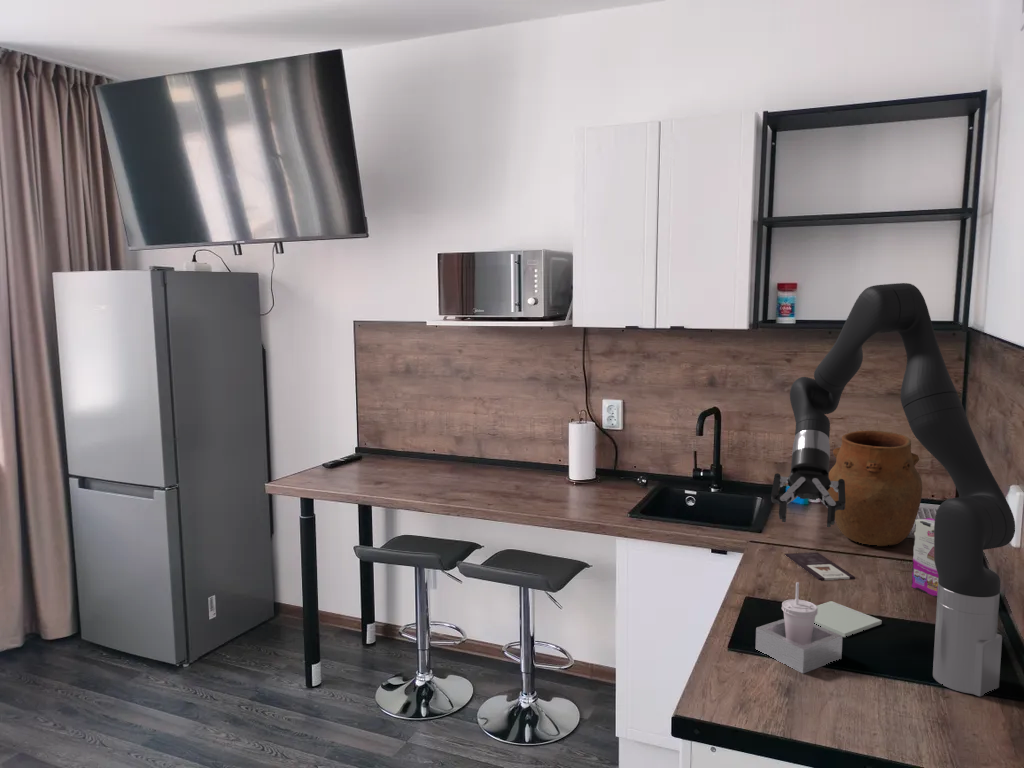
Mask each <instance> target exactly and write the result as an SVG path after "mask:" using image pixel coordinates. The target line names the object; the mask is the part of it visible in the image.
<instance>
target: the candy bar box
mask: <svg viewBox="0 0 1024 768" xmlns="http://www.w3.org/2000/svg"><path fill="white" fill-rule="evenodd" d="M934 524H935V518H931V517H925V518H919V519H918V518H917V519H915V522H914V533H913V534H914V535H913V551H912V552H913V553H912V554H913V555H912V571H911V572H912V573H911V588H913V589H915V590H917V591H920V592H923V593H924V594H928V595H929V596H932V597H934V598H937V593H938V572H937V569H936V566H935V561H934Z"/></svg>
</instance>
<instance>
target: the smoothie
mask: <svg viewBox="0 0 1024 768" xmlns="http://www.w3.org/2000/svg"><path fill="white" fill-rule="evenodd" d="M799 597H800V582H797V581H796V582H795V598H794V599H793V598H792V599H787V600H784V601H782V603H781V610H782V611H783V619H784V621H785V632H786V638H787V639H789V640H791V641H794V642H796V643H798V644H800V645H802V646H803V645H806V644H809V643H811V638H812V632H813V627H814V621H815V616H816V615H817V614H818V611H817V610H818V608H817V605H816V604H815V603H813V602H810V601H807V600H803V599H800V598H799Z"/></svg>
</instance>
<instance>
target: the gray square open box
mask: <svg viewBox="0 0 1024 768" xmlns="http://www.w3.org/2000/svg"><path fill="white" fill-rule="evenodd" d="M755 649H756V650H758V651H760V652H762V653H764V654H767V655H769V656H770V657H772V658H774V659H776V660H777V662H778V661H779V663H780V662H781V663H780V664H782V663H783V665H784V664H786V665H787V667H788V666H789V667H788V668H790V667H791V669H792V668H793V670H795V671H797V672H799V673H801V674H806V673H808V672H811V671H814V670H817V669H818V668H821V667H824V666H826V664H827V665H829V664H831V663H830V662H832V663H834V662H833V661H835V662H837V661H839V659H840V660H842V654H843V653H842V652H843V636H842V635H839V634H837V633H834V632H832V631H830V630H827V629H825V628H823V627H820V626H818V625H816V624H814V627H813V632H812V638H811V643H809V644H806V645H803V646H802V645H800V644H798V643H796V642H794V641H791V640H789V639H787V638H786V632H785V621H784V618H782V619H778V620H776V621H773V622H770V623H766V624H763V625H761V626H757V627H756V628H755ZM756 650H755V651H756ZM758 651H757V652H758ZM760 652H759V653H760ZM762 653H761V654H762ZM764 654H763V655H764ZM770 657H769V658H770ZM772 658H771V659H772ZM774 659H773V660H774ZM776 660H775V661H776ZM836 660H837V661H836ZM828 663H829V664H828ZM786 665H785V666H786Z"/></svg>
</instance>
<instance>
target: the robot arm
mask: <svg viewBox="0 0 1024 768" xmlns="http://www.w3.org/2000/svg"><path fill="white" fill-rule="evenodd" d="M895 332H898V334H899V335H900V338H901V340H902V344H903V346H904V349H905V353H906V367H905V369H904V370H905V371H904V374H903V379H902V382H901V388H900V403H901V406H902V410H903V412H904V415H905V417H906V419H907V422H908V425H909V427H910V430H911V432H912V434H913V435H914V437H915V439H917V440H918V443H920V444H921V445H922V446H923V447H924V448H925V449H926V450H927V451H928V452H929V454H931V455H932V456H933V457H934V459H936V460H937V462H939V463H940V464H941V465H942V466H943V467H944V469H945V470H946V472H947V473H948V474H949V476H950V478H951V481H952V482H953V483H954V486H955V489H956V491H957V493H958V496H957V497H952V498H948V499H946V500H945V501H942V503H941V504H940V505H939V506H938V508H937V510H936V513H935V516H934V519H935V524H934V561H935V566H936V569H937V572H938V593H937V597H936V609H935V610H936V611H935V612H936V613H935V625H934V626H935V628H934V629H935V630H934V647H933V663H932V666H933V667H932V677H933V679H934V680H935V681H936V682H938V683H939V684H940V685H942V684H943V685H942V686H943V687H946V688H948V689H950V690H953V691H957V692H959V693H960V692H961V693H963V694H964V693H965V694H971V695H975V696H977V697H983V696H985V695H986V694H985V693H987V692H989V691H991V692H993V691H995V690H997V689H999V688H1000V678H1001V677H1000V676H1001V675H1000V674H1001V661H1002V660H1001V658H1002V647H1003V645H1002V644H1003V636H1002V634H999V633H998V623H999V608H1000V596H1001V595H1000V592H1001V578H1000V576H999V575H998V574H997V573H996V572H995V571H993V570H991V569H989V568H986V567H984V551H985V550H992V549H996V548H997V549H998V548H1002V547H1005V546H1008V545H1009V544H1010V543H1011V542H1012V541H1013V539H1014V537H1015V533H1016V520H1015V518H1014V513H1013V512H1012V509H1011V507H1010V504H1009V503H1008V500H1007V499H1006V497H1005V495H1004V493H1003V491H1002V489H1001V487H1000V485H999V484H998V482H997V479H996V478H995V476H994V475H993V473H992V471H991V469H990V467H989V465H988V463H987V461H986V459H985V456H984V454H983V453H982V449H981V447H980V445H979V442H978V441H977V438H976V436H975V434H974V432H973V429H972V427H971V425H970V423H969V420H968V417H967V414H966V412H965V411H966V410H965V409H964V405H963V403H962V401H961V399H960V397H959V394H958V391H957V389H956V387H955V385H954V383H953V381H952V378H951V376H950V373H949V370H948V368H947V365H946V363H945V360H944V357H943V355H942V353H941V350H940V346H939V343H938V340H937V336H936V332H935V329H934V327H933V323H932V319H931V315H930V311H929V308H928V305H927V303H926V300H925V298H924V295H923V293H922V292H921V290H920V289H919V288H918V287H917V286H915V284H912V283H907V282H901V283H900V282H899V283H898V282H897V283H887V284H886V283H884V284H876V285H875V284H874V285H871V286H868V287H866V288H865V289H864V290H863V291H862V292H861V293H860V294H859V296H858V297H857V299H856V300H855V301H854V303H853V306H852V307H851V309H850V312H849V314H848V316H847V318H846V320H845V322H844V324H843V326H842V329H841V331H840V333H839V334H838V337H837V339H836V341H835V342H834V344H833V346H832V347H831V349H830V350H829V351H828V352H827V354H826V355H825V357H823V359H822V360H821V361H820V363H819V364H818V365H817V366H816V368H815V370H814V371H813V372H814V373H813V378H810V377H807V376H802V377H798V378H797V379H796V380H795V381H793V383H792V385H791V386H790V391H789V400H790V404H791V408H792V412H793V417H794V420H795V430H794V440H793V444H792V451H791V462H790V463H791V464H790V466H791V467H790V474H789V476H782V475H781V473H774V476H773V482H772V488H771V494H770V496H771V497H770V498H771V499H770V500H771V503H773V504H777V505H779V508H778V518H779V519H780V520H781V522H782V523H786V522H787V521H786V520H787V511H788V505H789V503H791V502H794V501H795V500H796V499H797V498H799V499H802V500H804V499H805V500H807V499H809V500H812V501H813V500H814V501H817V500H819V501H820V502H821V503H822V505H824V506H825V507H826V508H827V516H826V517H827V520H826V528H831V527H832V526H834V525H835V523H836V520H835V511H836V510H844V509H845V503H846V500H845V481H844V480H843V479H839V481H830V479H829V471H830V461H831V445H830V436H831V431H830V430H831V421H830V419H829V417H828V416H827V415H829V414H832V413H834V412H835V411H836V410H837V409H838V406H839V405H840V401H841V396H842V394H843V393H844V389H845V388H846V385H848V383H849V382H851V379H852V378H854V376H855V375H856V374H857V373H858V371H859V370H860V368H861V367H862V364H863V359H864V354H863V353H864V351H863V345H864V344H865V343H866V342H867V341H868V340H869V339H870V338H871V337H873V336H874V335H876V334H877V333H880V334H882V333H883V334H884V333H895ZM785 484H787V485H788V486H789V488H787V489H786V492H784V493H783V494H781V495H780V494H779V493H780V489H781V488H782V487H784V486H785ZM830 487H833V488H834V491H835V492H838V501H834V500H833V499H832V498H831V496H830V494H829V493H828V490H829V489H830ZM994 689H995V690H994ZM992 690H993V691H992ZM989 693H990V692H989ZM984 694H985V695H984ZM987 694H988V693H987Z"/></svg>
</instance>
